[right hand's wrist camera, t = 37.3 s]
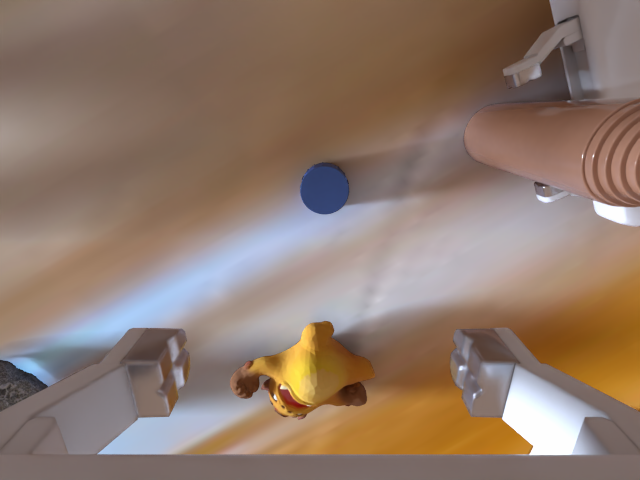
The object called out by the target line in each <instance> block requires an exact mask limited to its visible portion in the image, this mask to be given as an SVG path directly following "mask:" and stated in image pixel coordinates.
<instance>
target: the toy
mask: <svg viewBox="0 0 640 480" xmlns="http://www.w3.org/2000/svg"><path fill="white" fill-rule="evenodd" d="M333 333H334V328H333V325H332V324H331V322H328V321H323V322H319V323H310V324H309V325H308V326H306V327H305V329H304V331H303V332H302V336H301V340H300V341H299V342H298V343H297V344H296V345H294V346H293V347H291V348H289V349H288V350H286V351H284V352H281V353H279V354H276V355H272V356H264V357H261V358H257V359H255V360H253V361H248V362H246V363H245V365H244V366H243V367H241V368H239V369H238V370H236V371H235V372H234V374H233V375H232V377H231V380H230V386H231V389H232V391H233V393H234V394H235V395H237V396H238V397H240V398H245V399H247V398H250V397H252V394H253V392H256V391H257V390H258V388H259V376H261V375H267V376H269V377H270V379H268V380H266V381H265V382H264V383H263V385H262V387H261V389H262V390H267V391H268V393H269V396H270V401H271V404H272V405H273V406H274V407H275V411H276V412H277V413H278V414H280V415H281V416H283V417H287V416H292V417H297V416H298V420H299V419H303V418H305V417H306V415H307V413H309V412H311V411H313V410H314V409H316V408H317V407H319V406H321V405H324V404H331V405H335V406H342V405H346V406H350V405H354V406H361V405H363V404H365V403H366V401H367V396H366V390H365V388H364V386H363V385H362V384H361V383H360V381H364V380H368V379H371V378H374V377H375V373H374V370H373V368H372V365H371V363H370V361H369V360H367V359H366V358H364V357H361V356H356V355H354V354H352V353H350V352H349V351H348V350H347V349H346V348H344V347H343V346H342V345H341V344H340V343H339V342H338V341H336V340H335V339H333V338H332V337H331V336H332V335H333Z"/></svg>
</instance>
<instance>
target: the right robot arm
mask: <svg viewBox="0 0 640 480" xmlns="http://www.w3.org/2000/svg"><path fill="white" fill-rule="evenodd" d="M186 342H187V338H186V333H185V331H184V330H183V329H170V328H132V329H129V330H128V331H127V332H126V334H125V335H124V336H123V337H122V338H121V339H120V340H119V342H118V343H117V344H116V345H115V346H114V347H113V349H112V350H111V351H110V352H109V353H108V354H107V355H106V357H105V358H104V359H103V360H102V361H101V362H100V363H99V364H92V365H90V366H88V367H87V368H85V369H83V370H81V371H79V372H77V373H75V374H73V375H71V376H69V377H67V378H65V379H63V380H61V381H59V382H57V383H55V384H53V385H51V386H49V387H47V388H46V389H44V390H42V391H40V392H38V393H36V394H34V395H32V396H30V397H28V398H26V399H24V400H22V401H20V402H18V403H16V404H14V405H12V406H10V407H8V408H7V409H5V410H3V411H1V412H0V480H640V412H639V411H637V410H635V409H633V408H631V407H629V406H627V405H625V404H623V403H622V402H620V401H618V400H616V399H614V398H612V397H610V396H608V395H606V394H604V393H602V392H600V391H598V390H596V389H594V388H592V387H590V386H588V385H587V384H585V383H583V382H581V381H579V380H577V379H575V378H573V377H571V376H569V375H567V374H565V373H563V372H561V371H559V370H557V369H555V368H553V367H552V366H550V365H548V364H541V363H540V362H539V361H538V360H537V359H536V358H535V357H534V355H533V354H532V353H531V352H530V351H529V350H528V349H527V347H526V346H525V345H524V344H523V343H522V342H521V340H520V339H519V338H518V337H517V336H516V335H515V334H514V332H513V331H512V330H511V329H509V328H490V329H456V331H455V333H454V338H453V342H454V343H455V345H456V347H457V348H456V349H455V350H454V351H453V352H452V353H451V357H450V370H451V375H452V378H453V381H454V383H455V385H456V386H457V387H458V388H460V389H461V390H463V393H462V399H463V401H464V403H465V405H466V407H467V409H468V411H469V413H470V415H471V417H500V418H502V419H503V420H504V421H505V422H506V423H507V424H509V425H510V426H511V427H512V428H513V429H514V430H516V431H517V432H518V433H519V434H520V435H521V436H523V437H524V438H525V439H526V440H527V441H528V442H530V443H531V444H532V445H533V446H534V447H535V448H537V449H538V450H539V451H540V452H541V453H543V454H544V455H296V454H247V455H109V454H98V453H99V452H100V451H101V450H102V449H103V448H105V447H106V446H107V445H108V444H109V443H110V442H112V441H113V440H114V439H115V438H116V437H118V436H119V435H120V434H121V433H122V432H123V431H125V430H126V429H127V428H128V427H129V426H130V425H132V424H133V423H134V422H135V421H136V420H137V419H138V418H140V417H169V416H170V414H171V412H172V410H173V407H174V405H175V403H176V401H177V399H178V393H177V390H179V389H180V388H182V387H183V386H184V385H185V383H186V381H187V378H188V375H189V370H190V356H189V353H188V352H187V351H186V350H185V349H184V348H183V347H184V345H185V343H186Z"/></svg>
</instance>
